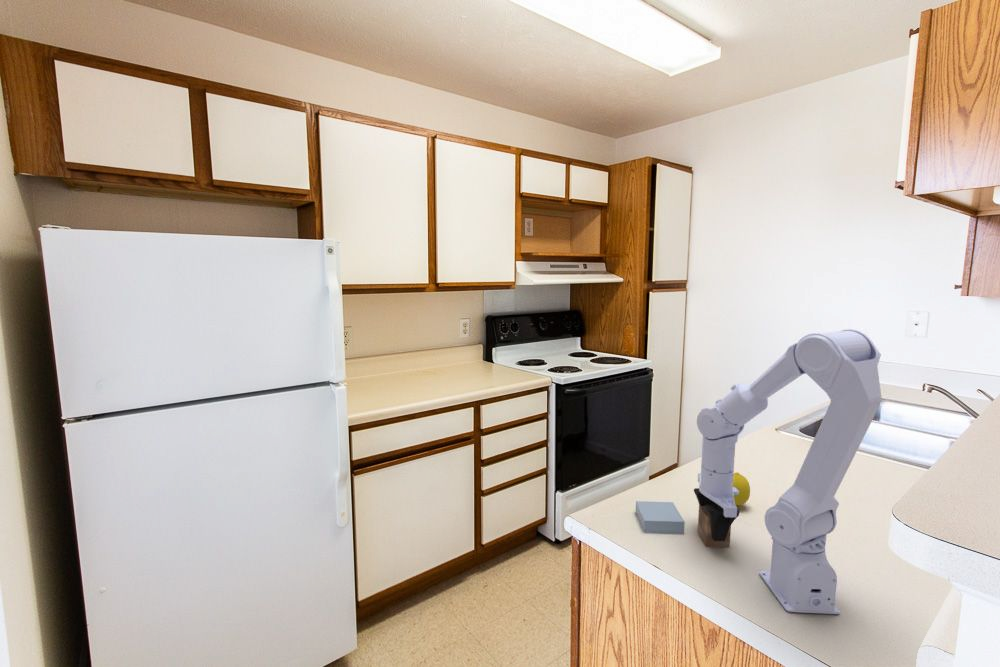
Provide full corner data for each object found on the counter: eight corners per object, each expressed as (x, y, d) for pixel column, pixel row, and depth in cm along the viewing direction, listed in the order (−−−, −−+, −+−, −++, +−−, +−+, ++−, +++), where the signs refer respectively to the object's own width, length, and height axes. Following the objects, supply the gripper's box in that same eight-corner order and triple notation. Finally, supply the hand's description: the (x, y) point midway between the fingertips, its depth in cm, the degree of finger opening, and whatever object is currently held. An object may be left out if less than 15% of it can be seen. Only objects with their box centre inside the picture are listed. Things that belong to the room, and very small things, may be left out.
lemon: (752, 513, 101) (754, 479, 100) (725, 511, 103) (727, 477, 102) (744, 501, 107) (746, 468, 106) (718, 499, 108) (720, 466, 107)
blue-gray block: (684, 535, 94) (684, 521, 94) (644, 534, 95) (644, 520, 94) (672, 514, 102) (672, 502, 102) (635, 513, 103) (635, 501, 102)
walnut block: (729, 547, 89) (731, 518, 88) (705, 546, 90) (707, 517, 89) (720, 534, 94) (722, 506, 93) (697, 533, 94) (699, 505, 93)
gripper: (756, 485, 82) (751, 555, 84) (723, 453, 96) (720, 514, 98) (715, 484, 83) (711, 554, 84) (688, 452, 97) (686, 513, 99)
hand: (713, 532), depth 91 cm, fingers closed on walnut block, 4 cm apart
